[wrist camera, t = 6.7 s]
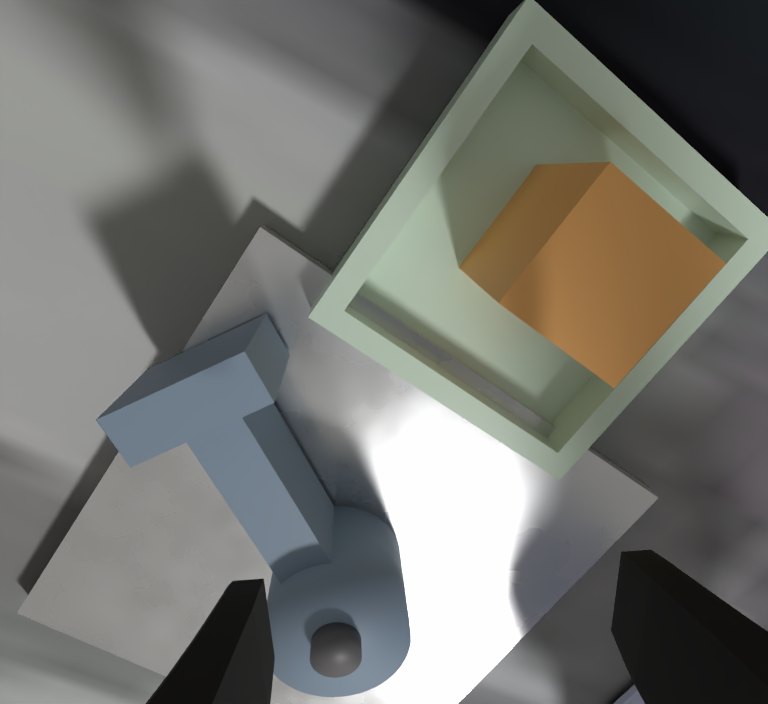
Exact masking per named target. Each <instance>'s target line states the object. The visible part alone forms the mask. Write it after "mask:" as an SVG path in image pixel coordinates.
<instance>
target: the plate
mask: <svg viewBox="0 0 768 704" xmlns="http://www.w3.org/2000/svg"><path fill="white" fill-rule="evenodd" d="M332 276H333V271H331V270H330V269H328V268H327V267H326V266H324V265H323V264H321V263H320V262H318V261H317V260H315V259H314V258H312V257H311V256H309V255H308V254H307V253H305V252H304V251H302V250H301V249H299V248H298V247H296V246H295V245H293V244H292V243H290V242H289V241H287V240H286V239H285V238H283V237H282V236H280V235H279V234H277V233H276V232H274V231H273V230H271V229H270V228H268V227H267V226H266V225H262V226H261V227H260V228H259V229H258V231H257V233H256V234H255V236H254V237H253V239H252V241H251V242H250V244H249V245H248V247H247V249H246V250H245V252H244V253H243V255H242V256H241V258H240V260H239V261H238V263H237V264H236V266H235V268H234V269H233V271H232V272H231V274H230V276H229V277H228V279H227V280H226V282H225V283H224V285H223V287H222V288H221V290H220V291H219V293H218V295H217V296H216V298H215V299H214V301H213V303H212V304H211V306H210V307H209V309H208V310H207V312H206V314H205V315H204V317H203V318H202V320H201V322H200V323H199V325H198V326H197V328H196V330H195V331H194V333H193V334H192V336H191V337H190V339H189V341H188V342H187V344H186V345H185V347H184V349H183V350H182V352H181V353H183V352H185V351H187V350H190V349H192V348H194V347H196V346H198V345H200V344H202V343H205V342H207V341H209V340H211V339H213V338H215V337H217V336H220V335H222V334H224V333H226V332H228V331H230V330H232V329H235V328H237V327H239V326H241V325H243V324H245V323H247V322H250V321H252V320H254V319H256V318H258V317H260V316H262V315H265V314H267V315H268V317H269V319H270V321H271V322H272V324H273V326H274V328H275V330H276V331H277V333H278V335H279V337H280V339H281V340H282V342H283V344H284V346H285V348H286V349H287V351H288V353H289V355H290V357H289V360H288V363H287V366H286V369H285V372H284V375H283V378H282V381H281V384H280V387H279V390H278V394H277V397H276V400H275V403H274V404H275V406H276V408H277V409H278V411H279V413H280V415H281V416H282V418H283V420H284V421H285V423H286V425H287V427H288V428H289V430H290V432H291V433H292V435H293V437H294V439H295V440H296V442H297V444H298V445H299V447H300V449H301V451H302V452H303V454H304V456H305V457H306V459H307V461H308V463H309V464H310V466H311V468H312V469H313V471H314V473H315V475H316V476H317V478H318V480H319V481H320V483H321V485H322V486H323V488H324V490H325V492H326V493H327V495H328V497H329V498H330V500H331V502H332V504H333V505H334V506H346V507H353V508H358V509H361V510H364V511H367V512H369V513H371V514H373V515H375V516H377V517H378V518H380V519H381V520H382V521H384V522H385V523H386V524H387V525H388V526H389V527H390V529H391V530H392V531H393V533H394V534H395V536H396V538H397V541H398V544H399V547H400V554H401V562H402V569H403V577H404V584H405V592H406V599H407V607H408V614H409V622H410V630H411V645H410V649H409V652H408V655H407V657H406V659H405V661H404V662H403V664H402V666H401V667H400V668H399V669H398V671H397V672H396V673H395V674H394V675H393V676H392V677H390V678H389V679H388V680H386V681H385V682H384V683H382V684H380V685H379V686H377V687H375V688H373V689H370V690H368V691H365V692H362V693H359V694H355V695H351V696H344V697H321V696H315V695H310V694H307V693H303V692H301V691H298V690H295V689H293V688H292V687H290V686H288V685H286V684H285V683H283V682H282V681H280V680H279V679H278V678H277V677H276V676H275V675H274V674H273V682H272V693H271V702H270V704H458V703H459V702H460V701H461V700H462V699H463V698H464V697H465V696H466V695H467V694H468V693H469V692H470V691H471V690H472V689H473V688H474V687H475V685H476V684H477V683H478V682H479V681H480V680H481V679H482V678H483V677H484V676H485V675H486V674H487V673H488V672H489V671H490V670H491V669H492V668H493V667H494V666H495V665H496V664H497V663H498V662H499V661H500V660H501V659H502V658H503V657H504V656H505V655H506V654H507V653H508V652H509V651H510V650H511V649H512V648H513V647H514V646H515V645H516V644H517V642H518V641H519V640H520V639H521V638H522V637H523V636H524V635H525V634H526V633H527V632H528V631H529V630H530V629H531V628H532V627H533V626H534V625H535V624H536V623H537V622H538V621H539V620H540V619H541V618H542V617H543V616H544V615H545V614H546V613H547V612H548V611H549V610H550V609H551V608H552V607H553V606H554V605H555V604H556V603H557V602H558V601H559V600H560V598H561V597H562V596H563V595H564V594H565V593H566V592H567V591H568V590H569V589H570V588H571V587H572V586H573V585H574V584H575V583H576V582H577V581H578V580H579V579H580V578H581V577H582V576H583V575H584V574H585V573H586V572H587V571H588V570H589V569H590V568H591V567H592V566H593V565H594V564H595V563H596V562H597V561H598V560H599V559H600V558H601V557H602V556H603V554H604V553H605V552H606V551H607V550H608V549H609V548H610V547H611V546H612V545H613V544H614V543H615V542H616V541H617V540H618V539H619V538H620V537H621V536H622V535H623V534H624V533H625V532H626V531H627V530H628V529H629V528H630V527H631V526H632V525H633V524H634V523H635V522H636V521H637V520H638V519H639V518H640V517H641V516H642V515H643V514H644V513H645V512H646V510H647V509H648V508H649V507H650V506H651V505H652V504H653V503H654V502H655V501H656V500H657V499H658V497H657V496H656V495H655V494H654V493H653V491H652V490H651V489H650V488H649V487H648V486H646V485H645V484H643V483H642V482H640V481H639V480H638V479H636V478H635V477H633V476H632V475H630V474H629V473H627V472H626V471H624V470H623V469H621V468H620V467H619V466H617V465H616V464H614V463H613V462H611V461H610V460H608V459H607V458H605V457H604V456H602V455H601V454H599V453H598V452H597V451H595V450H594V449H592V448H591V447H590V448H589V449H588V450H587V451H586V452H585V453H584V454H583V455H582V456H581V457H580V459H579V460H578V461H577V462H576V463H575V464H574V465H573V466H572V467H571V469H570V470H569V471H568V472H567V473H566V474H565V475H564V476H563V477H562V478H561V480H560V481H559V480H558V479H556V478H555V477H553V476H552V475H550V474H549V473H547V472H546V471H544V470H543V469H541V468H539V467H538V466H536V465H535V464H533V463H532V462H530V461H529V460H527V459H526V458H524V457H523V456H521V455H519V454H518V453H516V452H515V451H513V450H512V449H510V448H509V447H507V446H506V445H504V444H503V443H501V442H499V441H498V440H496V439H495V438H493V437H492V436H490V435H489V434H487V433H486V432H484V431H482V430H481V429H479V428H478V427H476V426H475V425H473V424H472V423H470V422H469V421H467V420H466V419H464V418H462V417H461V416H459V415H458V414H456V413H455V412H453V411H452V410H450V409H449V408H447V407H446V406H444V405H442V404H441V403H439V402H438V401H436V400H435V399H433V398H432V397H430V396H429V395H427V394H426V393H424V392H422V391H421V390H419V389H418V388H416V387H415V386H413V385H412V384H410V383H409V382H407V381H405V380H404V379H402V378H401V377H399V376H398V375H396V374H395V373H393V372H392V371H390V370H389V369H387V368H385V367H384V366H382V365H381V364H379V363H378V362H376V361H375V360H373V359H372V358H370V357H369V356H367V355H365V354H364V353H362V352H361V351H359V350H358V349H356V348H355V347H353V346H352V345H350V344H349V343H347V342H345V341H344V340H342V339H341V338H339V337H338V336H336V335H335V334H333V333H332V332H330V331H328V330H327V329H325V328H324V327H322V326H321V325H319V324H318V323H316V322H315V321H313V320H312V319H310V318H308V316H309V312H310V309H311V307H312V306H313V304H314V303H315V301H316V300H317V298H318V297H319V295H320V294H321V293H322V291H323V290H324V288H325V287H326V285H327V284H328V282H329V281H330V279H331V278H332ZM349 306H350V307H352V308H353V309H355V310H356V311H358V312H359V313H361V314H362V315H364V316H365V317H367V318H368V319H370V320H371V321H373V322H374V323H376V324H377V325H379V326H380V327H382V328H383V329H385V330H386V331H388V332H389V333H391V334H392V335H394V336H395V337H397V338H398V339H400V340H401V341H403V342H404V343H406V344H407V345H409V346H410V347H412V348H413V349H415V350H416V351H418V352H419V353H421V354H422V355H424V356H425V357H427V358H428V359H430V360H431V361H433V362H434V363H436V364H437V365H439V366H440V367H441V368H443V369H444V370H446V371H447V372H449V373H450V374H452V375H453V376H455V377H456V378H458V379H459V380H461V381H462V382H464V383H465V384H467V385H468V386H470V387H471V388H473V389H474V390H476V391H477V392H479V393H480V394H482V395H483V396H485V397H486V398H488V399H489V400H491V401H492V402H494V403H495V404H497V405H498V406H500V407H501V408H503V409H504V410H506V411H507V412H509V413H510V414H512V415H513V416H515V417H516V418H518V419H519V420H521V421H522V422H524V423H525V424H527V425H528V426H530V427H531V428H533V429H534V430H535V431H537V432H538V433H540V434H541V435H543V436H544V437H546V438H547V437H548V436H549V435H550V434H551V433H552V431H553V430H554V429H555V427H554V425H553V424H552V423H551V422H549V421H548V420H547V419H545V418H544V417H542V416H541V415H539V414H538V413H536V412H535V411H533V410H532V409H530V408H529V407H527V406H526V405H525V404H523V403H522V402H520V401H519V400H517V399H516V398H514V397H513V396H511V395H510V394H508V393H507V392H505V391H504V390H503V389H501V388H500V387H498V386H497V385H495V384H494V383H492V382H491V381H489V380H488V379H486V378H485V377H483V376H482V375H480V374H479V373H478V372H476V371H475V370H473V369H472V368H470V367H469V366H467V365H466V364H464V363H463V362H461V361H460V360H458V359H457V358H456V357H454V356H453V355H451V354H450V353H448V352H447V351H445V350H444V349H442V348H441V347H439V346H438V345H436V344H435V343H434V342H432V341H431V340H429V339H428V338H426V337H425V336H423V335H422V334H420V333H419V332H417V331H416V330H414V329H413V328H412V327H410V326H409V325H407V324H406V323H404V322H403V321H401V320H400V319H398V318H397V317H395V316H394V315H392V314H391V313H390V312H388V311H387V310H385V309H384V308H382V307H381V306H379V305H378V304H376V303H375V302H373V301H372V300H370V299H369V298H367V297H366V296H365V295H363V294H362V293H360V292H359V291H358V292H357V293H356V295H355V296H354V298H353V299H352V300H351V302H350V303H349ZM181 353H180V354H181ZM272 572H273V571H272V570H271V568H270V567H269V566H268V564H267V563H266V561H265V560H264V558H263V557H262V555H261V554H260V552H259V551H258V549H257V548H256V546H255V545H254V543H253V542H252V540H251V539H250V537H249V536H248V534H247V533H246V531H245V530H244V528H243V527H242V525H241V524H240V522H239V521H238V519H237V518H236V516H235V515H234V513H233V512H232V510H231V509H230V507H229V506H228V504H227V503H226V501H225V500H224V498H223V497H222V495H221V494H220V492H219V491H218V489H217V488H216V486H215V485H214V483H213V482H212V480H211V479H210V477H209V476H208V474H207V473H206V471H205V470H204V468H203V467H202V465H201V464H200V462H199V461H198V459H197V458H196V456H195V455H194V453H193V452H192V450H191V449H190V447H189V446H188V444H187V443H184V444H182V445H180V446H177V447H175V448H173V449H171V450H169V451H166V452H164V453H162V454H160V455H157V456H155V457H153V458H151V459H149V460H146V461H144V462H142V463H140V464H138V465H135V466H133V467H131V468H130V466H129V465H128V464H127V462H126V461H125V460H124V458H123V457H122V455H121V454H120V453H119V452H118V453H117V455H116V457H115V458H114V460H113V461H112V463H111V465H110V466H109V468H108V469H107V471H106V473H105V474H104V476H103V477H102V479H101V480H100V482H99V484H98V485H97V487H96V488H95V490H94V492H93V493H92V495H91V496H90V498H89V500H88V501H87V503H86V504H85V506H84V507H83V509H82V511H81V512H80V514H79V515H78V517H77V519H76V520H75V522H74V523H73V525H72V527H71V528H70V530H69V531H68V533H67V534H66V536H65V538H64V539H63V541H62V542H61V544H60V546H59V547H58V549H57V550H56V552H55V554H54V555H53V557H52V558H51V560H50V561H49V563H48V565H47V566H46V568H45V569H44V571H43V573H42V574H41V576H40V577H39V579H38V581H37V582H36V584H35V585H34V587H33V588H32V590H31V592H30V593H29V595H28V596H27V598H26V600H25V601H24V603H23V604H22V606H21V608H20V609H19V611H18V612H17V613H18V614H20V615H23V616H25V617H27V618H30V619H32V620H34V621H37V622H39V623H41V624H44V625H46V626H49V627H51V628H53V629H56V630H58V631H60V632H63V633H65V634H67V635H70V636H72V637H74V638H77V639H79V640H81V641H84V642H86V643H88V644H91V645H93V646H95V647H98V648H100V649H103V650H105V651H107V652H110V653H112V654H114V655H117V656H119V657H121V658H124V659H126V660H128V661H131V662H133V663H135V664H138V665H140V666H142V667H145V668H147V669H149V670H152V671H154V672H156V673H159V674H161V675H164V676H166V677H167V675H168V674H169V672H170V671H171V670H172V668H173V667H174V665H175V664H176V663H177V661H178V660H179V658H180V657H181V655H182V654H183V653H184V651H185V650H186V648H187V647H188V646H189V644H190V643H191V641H192V640H193V638H194V637H195V635H196V634H197V633H198V631H199V630H200V628H201V627H202V625H203V624H204V622H205V621H206V619H207V618H208V616H209V614H210V613H211V611H212V610H213V608H214V607H215V605H216V604H217V602H218V600H219V599H220V597H221V596H222V594H223V593H224V591H225V589H226V588H227V586H228V585H229V584H230V583H231V582H232V581H237V580H250V579H264V584H265V591H266V598H268V593H269V587H270V582H271V577H272Z"/></svg>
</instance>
